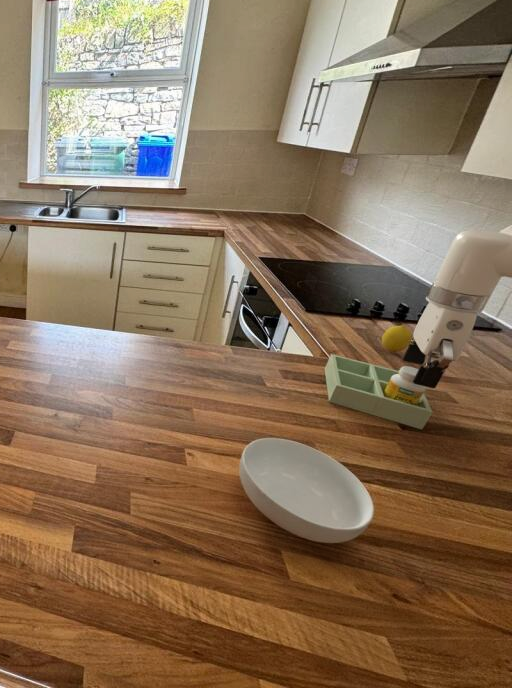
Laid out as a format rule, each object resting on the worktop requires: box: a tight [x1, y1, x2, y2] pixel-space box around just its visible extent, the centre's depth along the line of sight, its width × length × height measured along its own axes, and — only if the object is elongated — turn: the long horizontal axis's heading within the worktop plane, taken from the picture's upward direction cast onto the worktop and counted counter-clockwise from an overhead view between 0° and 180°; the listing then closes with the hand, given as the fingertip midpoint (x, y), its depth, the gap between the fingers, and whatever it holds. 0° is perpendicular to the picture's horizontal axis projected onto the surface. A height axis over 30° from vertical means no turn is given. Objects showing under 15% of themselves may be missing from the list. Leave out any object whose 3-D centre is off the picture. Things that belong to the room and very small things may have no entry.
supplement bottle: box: [383, 365, 427, 406], centre depth 84 cm, size 5×5×10 cm
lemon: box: [381, 325, 413, 353], centre depth 108 cm, size 6×6×8 cm
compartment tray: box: [324, 353, 434, 430], centre depth 90 cm, size 15×15×5 cm
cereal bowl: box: [238, 437, 375, 544], centre depth 63 cm, size 17×17×7 cm
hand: (417, 373), depth 82 cm, fingers open, 9 cm apart
